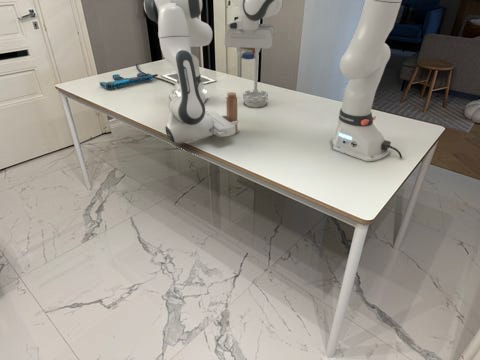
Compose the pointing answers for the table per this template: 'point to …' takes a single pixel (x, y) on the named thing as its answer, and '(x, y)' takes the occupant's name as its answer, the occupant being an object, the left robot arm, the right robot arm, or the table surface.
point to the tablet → (174, 75)
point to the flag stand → (255, 91)
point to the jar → (232, 108)
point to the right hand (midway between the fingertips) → (248, 58)
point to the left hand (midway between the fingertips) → (233, 119)
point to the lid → (248, 55)
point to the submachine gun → (126, 80)
